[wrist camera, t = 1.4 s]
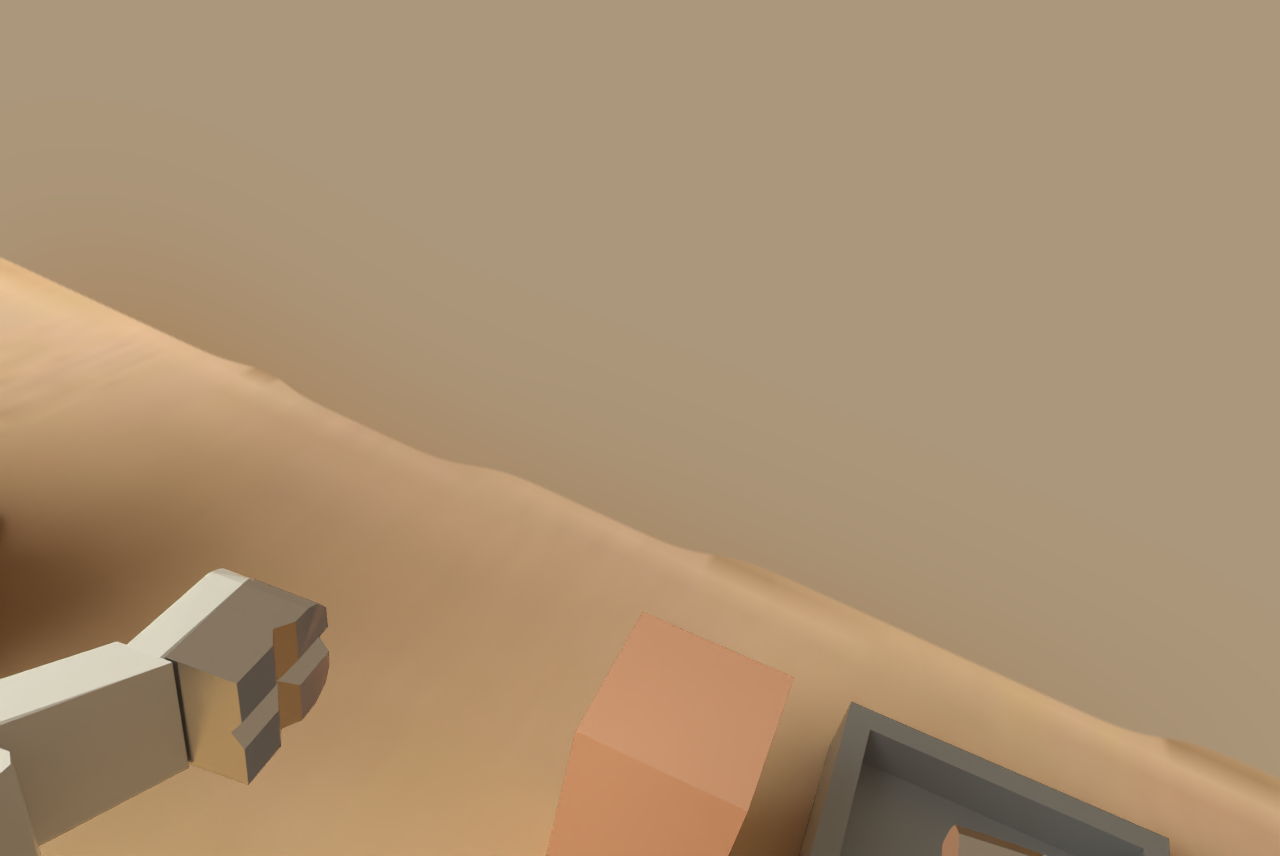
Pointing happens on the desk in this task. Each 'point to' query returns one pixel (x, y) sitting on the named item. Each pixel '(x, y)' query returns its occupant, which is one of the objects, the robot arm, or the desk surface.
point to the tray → (946, 801)
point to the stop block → (668, 749)
